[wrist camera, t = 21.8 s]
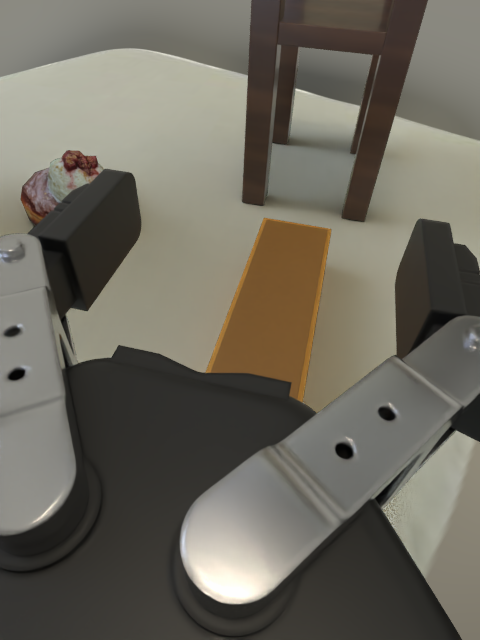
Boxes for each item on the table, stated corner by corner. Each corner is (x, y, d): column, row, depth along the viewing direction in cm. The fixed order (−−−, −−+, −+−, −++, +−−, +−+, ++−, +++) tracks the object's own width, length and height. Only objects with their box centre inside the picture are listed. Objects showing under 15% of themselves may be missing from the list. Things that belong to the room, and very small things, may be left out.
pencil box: (257, 646, 15) (264, 630, 13) (136, 608, 15) (122, 587, 13) (323, 265, 30) (332, 226, 28) (260, 253, 30) (264, 215, 28)
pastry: (127, 238, 31) (116, 174, 28) (18, 246, 30) (-9, 179, 26) (128, 184, 37) (118, 124, 33) (36, 189, 35) (15, 127, 32)
